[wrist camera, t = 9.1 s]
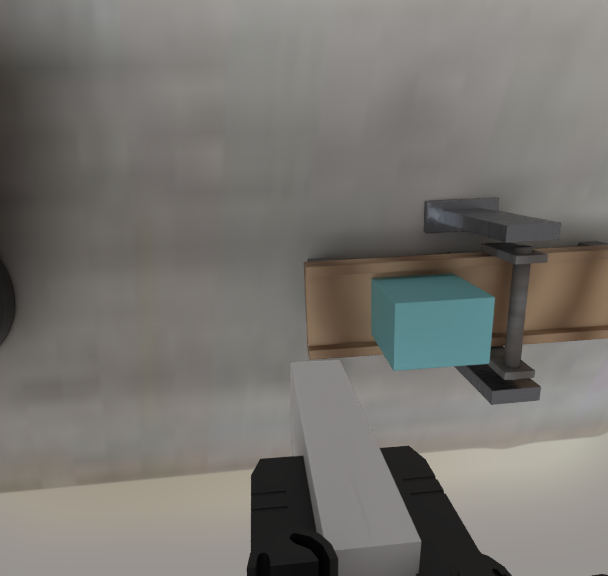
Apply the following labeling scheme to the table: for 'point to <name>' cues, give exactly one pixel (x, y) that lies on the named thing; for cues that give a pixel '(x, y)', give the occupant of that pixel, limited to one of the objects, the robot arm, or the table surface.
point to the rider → (431, 321)
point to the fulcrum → (505, 228)
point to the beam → (483, 274)
